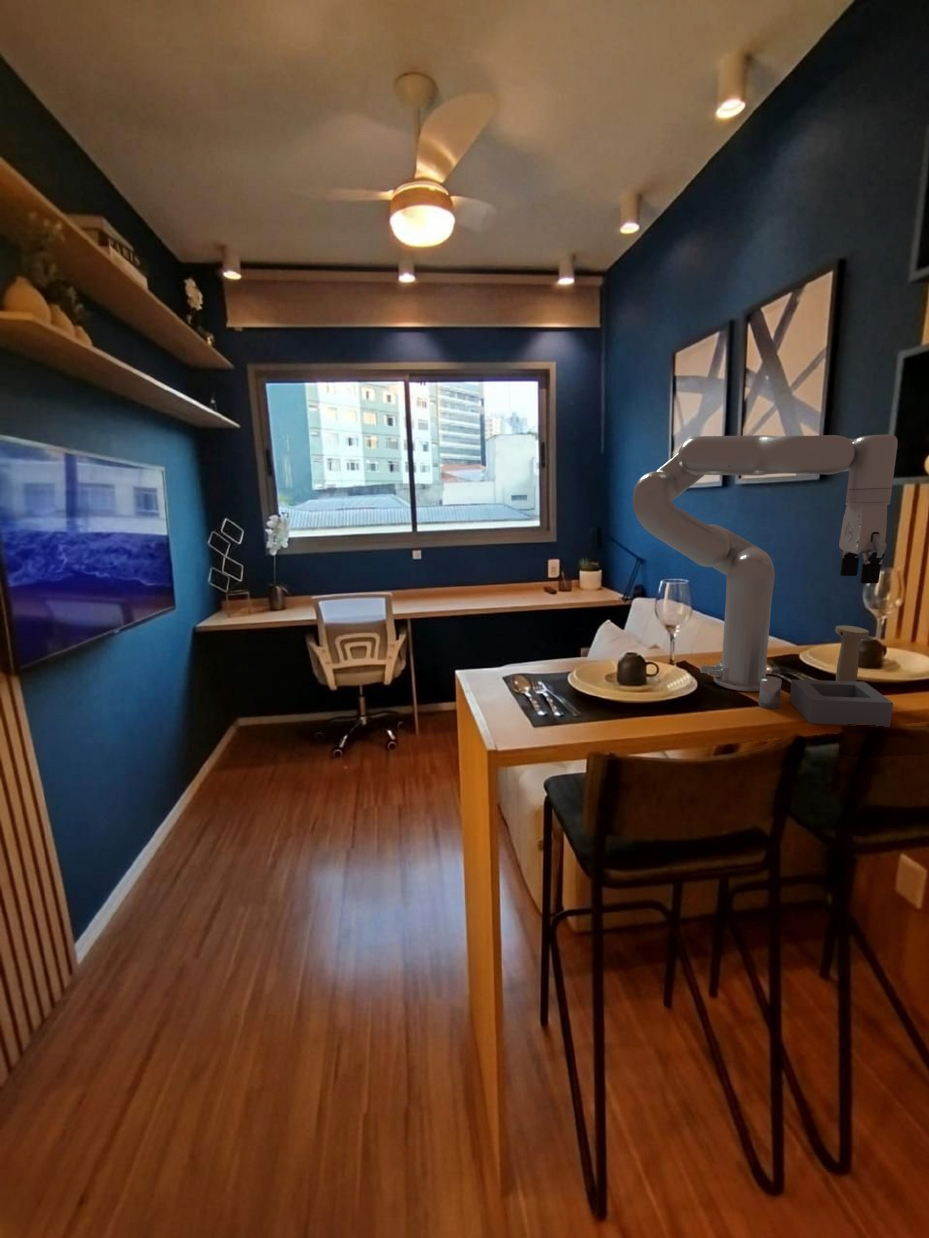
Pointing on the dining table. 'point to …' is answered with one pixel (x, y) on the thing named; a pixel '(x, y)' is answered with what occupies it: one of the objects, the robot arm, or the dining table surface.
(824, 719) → the block
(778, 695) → the short peg
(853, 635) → the handle
